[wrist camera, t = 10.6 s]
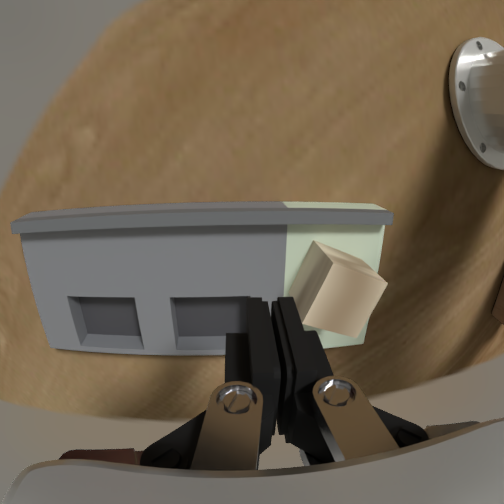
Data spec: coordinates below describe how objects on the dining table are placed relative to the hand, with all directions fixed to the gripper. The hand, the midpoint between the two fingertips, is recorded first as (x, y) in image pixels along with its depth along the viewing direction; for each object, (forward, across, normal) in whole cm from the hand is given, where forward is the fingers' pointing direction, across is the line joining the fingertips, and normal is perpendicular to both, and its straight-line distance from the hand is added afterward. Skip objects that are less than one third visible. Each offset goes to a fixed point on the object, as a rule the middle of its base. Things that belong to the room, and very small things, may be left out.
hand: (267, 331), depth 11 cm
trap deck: (+11, +4, +3) cm, 12 cm away
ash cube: (+10, -5, +2) cm, 11 cm away
